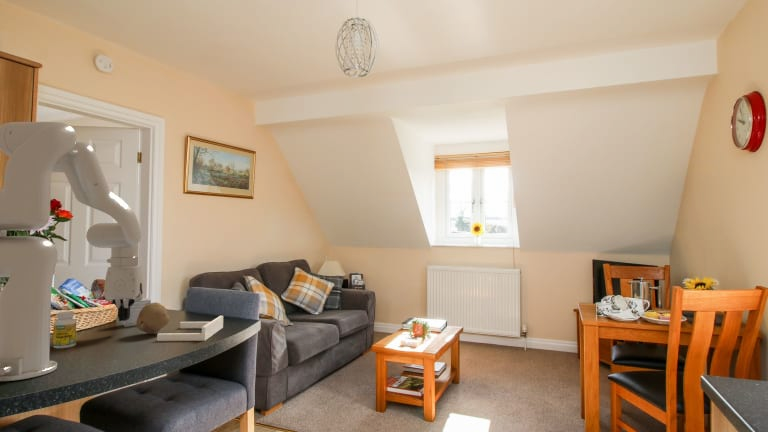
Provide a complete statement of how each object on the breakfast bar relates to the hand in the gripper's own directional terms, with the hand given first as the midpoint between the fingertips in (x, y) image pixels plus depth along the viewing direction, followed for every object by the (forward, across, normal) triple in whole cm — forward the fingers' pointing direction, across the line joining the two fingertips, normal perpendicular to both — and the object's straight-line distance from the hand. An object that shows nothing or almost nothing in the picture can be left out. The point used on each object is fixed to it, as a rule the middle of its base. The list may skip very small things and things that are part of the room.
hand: (124, 319), depth 142 cm
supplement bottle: (+4, -9, -14) cm, 18 cm away
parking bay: (+4, +21, 0) cm, 21 cm away
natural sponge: (+5, +10, 0) cm, 11 cm away
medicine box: (+5, -3, +15) cm, 16 cm away
